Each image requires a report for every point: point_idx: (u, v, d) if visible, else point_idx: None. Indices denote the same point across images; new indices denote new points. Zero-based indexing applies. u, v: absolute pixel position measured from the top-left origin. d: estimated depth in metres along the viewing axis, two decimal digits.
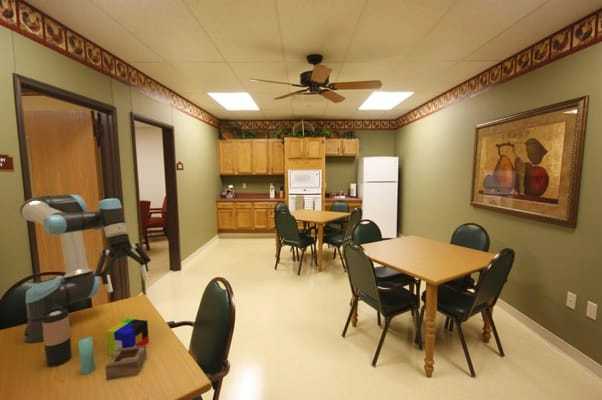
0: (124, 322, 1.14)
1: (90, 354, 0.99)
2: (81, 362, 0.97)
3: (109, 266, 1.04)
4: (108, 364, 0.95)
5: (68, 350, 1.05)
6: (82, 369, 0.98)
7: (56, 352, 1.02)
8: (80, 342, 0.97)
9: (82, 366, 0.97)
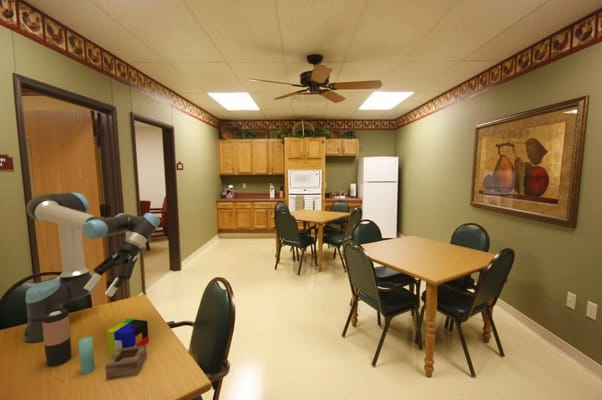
0: (124, 322, 1.14)
1: (90, 354, 0.99)
2: (81, 362, 0.97)
3: None
4: (108, 364, 0.95)
5: (68, 350, 1.05)
6: (82, 369, 0.98)
7: (56, 352, 1.02)
8: (80, 342, 0.97)
9: (82, 366, 0.97)
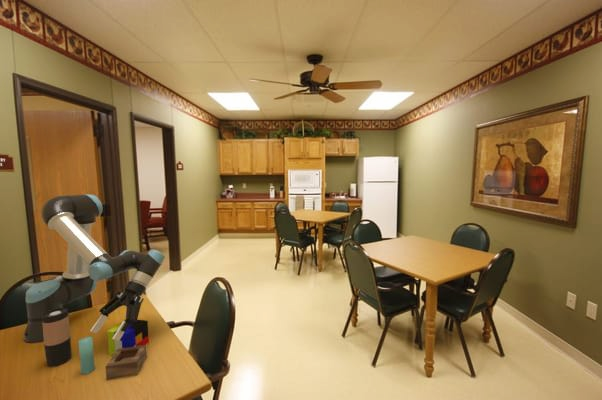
0: None
1: (90, 354, 0.99)
2: (81, 362, 0.97)
3: None
4: (108, 364, 0.95)
5: (68, 350, 1.05)
6: (82, 369, 0.98)
7: (56, 352, 1.02)
8: (80, 342, 0.97)
9: (82, 366, 0.97)
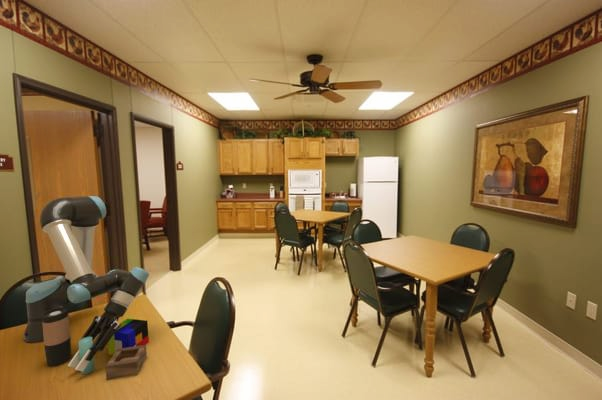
0: (124, 322, 1.14)
1: None
2: None
3: None
4: (108, 364, 0.95)
5: (69, 350, 1.05)
6: None
7: (56, 352, 1.02)
8: (80, 342, 0.97)
9: None
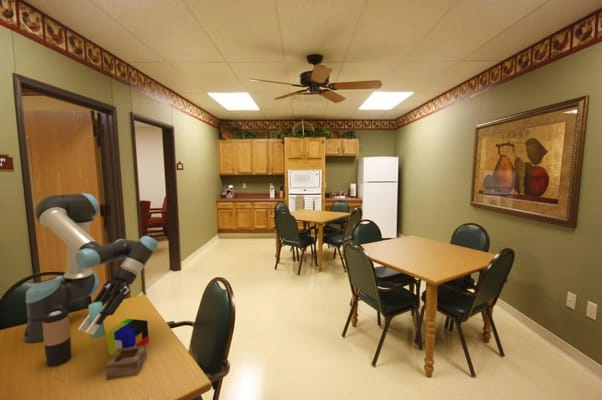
0: (124, 322, 1.14)
1: None
2: None
3: None
4: (108, 364, 0.95)
5: (68, 350, 1.05)
6: None
7: (56, 352, 1.02)
8: (90, 306, 0.96)
9: None
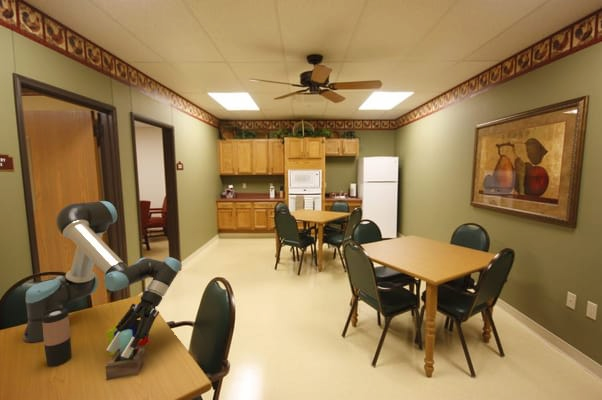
0: None
1: None
2: None
3: None
4: (108, 364, 0.95)
5: (68, 350, 1.05)
6: None
7: (56, 352, 1.02)
8: (121, 335, 0.98)
9: (122, 358, 0.98)
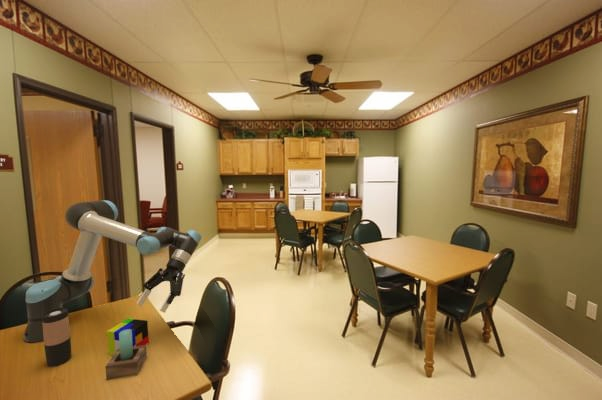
0: (124, 322, 1.14)
1: (130, 346, 1.00)
2: (121, 354, 0.98)
3: None
4: (108, 364, 0.95)
5: (68, 350, 1.05)
6: None
7: (56, 352, 1.02)
8: (121, 334, 0.98)
9: (122, 358, 0.99)
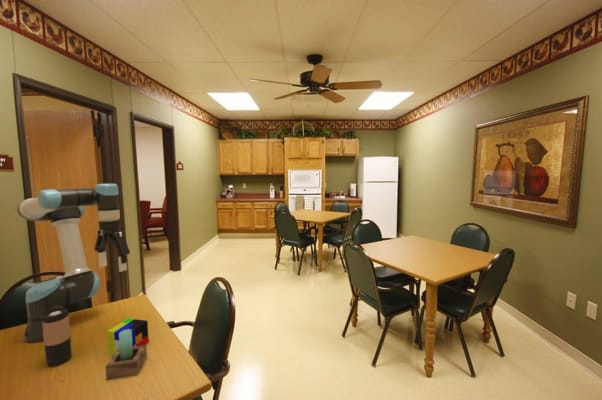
0: (124, 322, 1.14)
1: (130, 346, 1.00)
2: (121, 354, 0.98)
3: None
4: (108, 364, 0.95)
5: (68, 350, 1.05)
6: None
7: (56, 352, 1.02)
8: (120, 334, 0.98)
9: (122, 358, 0.99)
